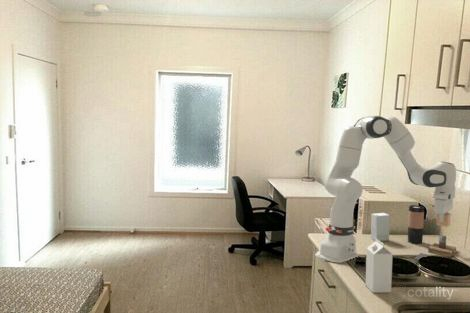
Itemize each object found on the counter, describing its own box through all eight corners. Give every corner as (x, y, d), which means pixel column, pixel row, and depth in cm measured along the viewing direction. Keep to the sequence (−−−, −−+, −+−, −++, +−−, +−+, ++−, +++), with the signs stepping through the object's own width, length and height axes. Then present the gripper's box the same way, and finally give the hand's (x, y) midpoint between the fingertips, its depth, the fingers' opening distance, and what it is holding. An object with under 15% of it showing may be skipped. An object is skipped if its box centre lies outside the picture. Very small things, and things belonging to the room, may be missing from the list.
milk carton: (382, 285, 144) (384, 238, 143) (391, 292, 137) (393, 243, 136) (365, 285, 144) (366, 238, 142) (372, 293, 137) (374, 243, 135)
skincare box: (383, 237, 208) (384, 212, 207) (389, 241, 202) (390, 214, 201) (370, 238, 206) (370, 213, 205) (376, 241, 201) (376, 215, 200)
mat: (437, 264, 166) (437, 263, 166) (413, 259, 173) (413, 258, 173) (443, 258, 174) (443, 257, 174) (420, 253, 181) (420, 253, 181)
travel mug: (425, 244, 196) (427, 208, 195) (411, 244, 196) (412, 208, 195) (418, 240, 204) (420, 205, 202) (404, 240, 204) (406, 205, 203)
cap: (447, 226, 180) (448, 215, 180) (436, 225, 184) (437, 213, 183) (449, 225, 184) (450, 213, 184) (439, 223, 187) (439, 211, 187)
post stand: (450, 256, 177) (451, 240, 177) (428, 252, 184) (428, 236, 183) (456, 250, 186) (456, 235, 185) (434, 246, 193) (435, 231, 192)
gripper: (443, 190, 192) (441, 216, 193) (432, 195, 177) (431, 222, 178) (456, 192, 188) (455, 218, 189) (447, 196, 173) (445, 225, 174)
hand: (443, 220), depth 184 cm, fingers closed on cap, 5 cm apart
